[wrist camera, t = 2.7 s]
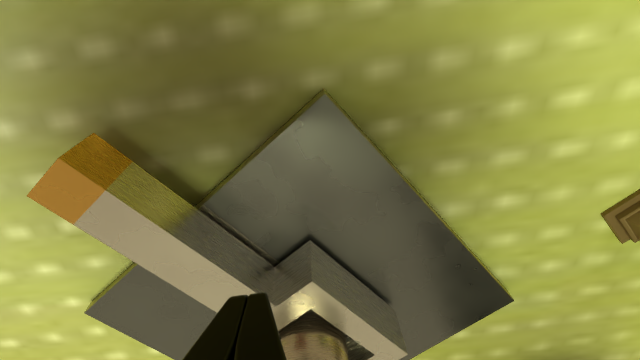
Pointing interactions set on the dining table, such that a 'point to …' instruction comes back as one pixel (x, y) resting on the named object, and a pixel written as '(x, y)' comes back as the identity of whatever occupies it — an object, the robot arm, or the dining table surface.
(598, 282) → the dining table surface
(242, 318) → the robot arm
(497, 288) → the post base
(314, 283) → the square nut with handle
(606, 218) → the eiffel tower
